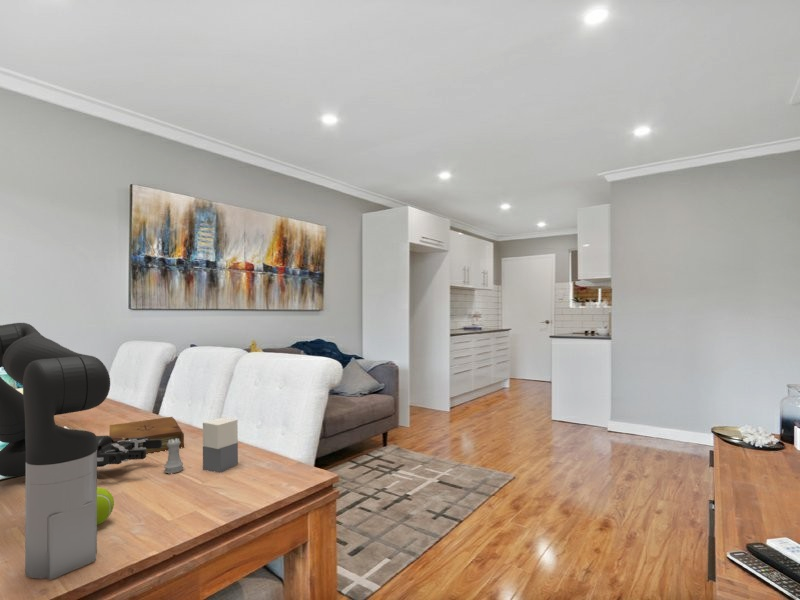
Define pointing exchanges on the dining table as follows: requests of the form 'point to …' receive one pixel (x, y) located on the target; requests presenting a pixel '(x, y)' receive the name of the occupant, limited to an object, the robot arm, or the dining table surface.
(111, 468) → the dining table surface
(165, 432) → the diary
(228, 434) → the tower top
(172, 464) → the rook chess piece
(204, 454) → the tower base
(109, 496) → the tennis ball
